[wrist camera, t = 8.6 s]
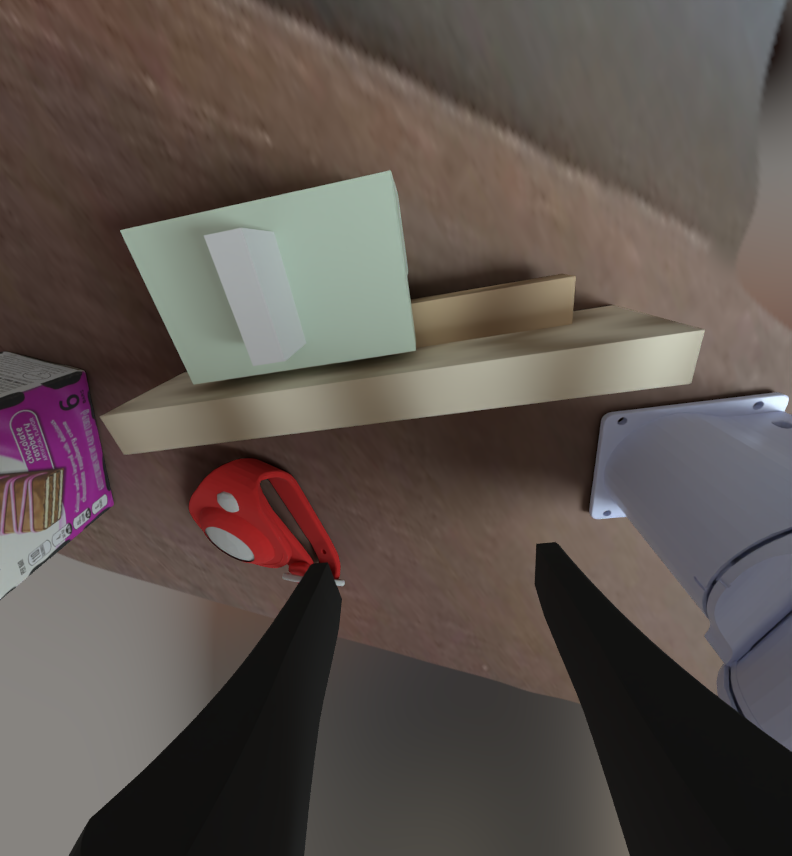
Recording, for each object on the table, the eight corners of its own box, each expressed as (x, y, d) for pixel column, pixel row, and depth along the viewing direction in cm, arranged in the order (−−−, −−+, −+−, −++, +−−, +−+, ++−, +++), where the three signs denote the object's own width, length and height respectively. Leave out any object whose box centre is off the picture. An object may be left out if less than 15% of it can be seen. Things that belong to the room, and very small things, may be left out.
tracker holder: (191, 553, 26) (150, 473, 19) (230, 509, 29) (207, 428, 23) (330, 619, 24) (339, 556, 18) (355, 565, 28) (371, 495, 21)
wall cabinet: (397, 193, 15) (384, 150, 9) (415, 326, 18) (416, 370, 11) (199, 235, 16) (53, 225, 10) (244, 353, 19) (154, 408, 13)
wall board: (619, 261, 16) (721, 266, 11) (608, 344, 18) (691, 383, 12) (168, 338, 19) (71, 372, 14) (198, 402, 21) (124, 454, 15)
